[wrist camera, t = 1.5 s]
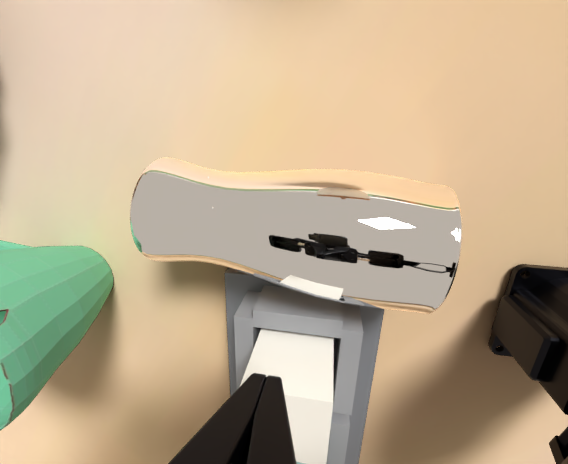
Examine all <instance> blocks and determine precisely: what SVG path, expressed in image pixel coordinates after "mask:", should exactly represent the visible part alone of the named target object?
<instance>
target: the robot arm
mask: <svg viewBox="0 0 568 464" xmlns="http://www.w3.org/2000/svg"><path fill="white" fill-rule="evenodd" d="M523 271H526V273H525V274H524V275H521V273H522V272H523ZM488 346H489V348H490V349H491V351H492V352H493V353H494V354H497V355H504V356H512V357H514V358H515V360H516V361H517V362H518V364H519V365H520V366H521V367H522V369H523V370H524V371H525V372H526V374H527V375H528V376H529V377H530V378H531V379H532V380H534V381H539V383H540V384H541V385H542V386H543V387H544V389H545V390H546V391H547V392H548V394H549V395H550V396H551V397H552V399H553V400H554V401H555V402H556V403H557V405H558V406H559V407H560V408H561V410H562V411H563V412H564V413H565V414H567V415H568V268H562V267H550V266H538V265H527V264H520V265H518V266H516V267H515V268H514V269H513V270H512V273H511V276H510V279H509V282H508V285H507V288H506V292H505V295H504V296H503V297H502V299H501V302H500V305H499V308H498V311H497V314H496V317H495V320H494V323H493V326H492V334H491V337H490V340H489V344H488ZM497 346H500V347H497ZM496 347H497V348H496ZM549 445H550V448H551V451H552V453H553V456H554V459H555V462H556V464H568V427H567V428H566V429H565V430H564V431H563V432H562V433H561V435H560V436H555V437H554V438H553V439H552V440H551V441H550V442H549ZM168 464H297V463H296V458H295V452H294V446H293V441H292V435H291V429H290V424H289V418H288V412H287V407H286V401H285V395H284V390H283V384H282V379H281V377H278V376H271V375H268V376H266V375H265V374H259V373H253V374H251V375H250V376H249V377H248V378H247V380H246V381H245V382H244V383H243V384H242V385H241V386H240V387H239V388H238V389H237V390H236V391H235V392H234V394H233V395H232V396H231V397H230V398H229V399H228V400H227V401H226V402H225V403H224V404H223V405H222V406H221V407H220V409H219V410H218V411H217V412H216V413H215V414H214V415H213V416H212V417H211V418H210V419H209V420H208V421H207V423H206V424H205V425H204V426H203V427H202V428H201V429H200V430H199V431H198V432H197V433H196V434H195V435H194V436H193V438H192V439H191V440H190V441H189V442H188V443H187V444H186V445H185V446H184V447H183V448H182V449H181V450H180V452H179V453H178V454H177V455H176V456H175V457H174V458H173V459H172V460H171V461H170V462H169V463H168Z"/></svg>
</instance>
